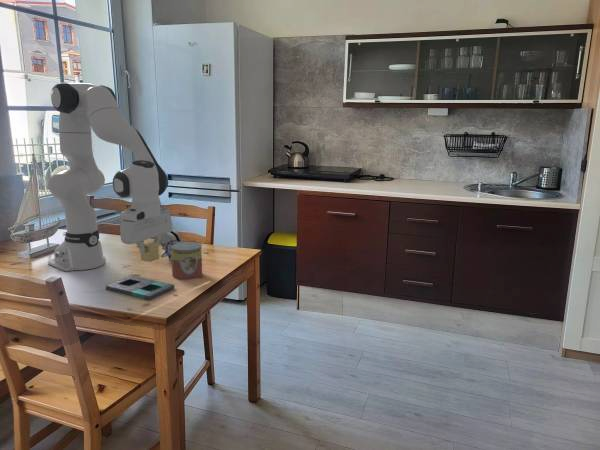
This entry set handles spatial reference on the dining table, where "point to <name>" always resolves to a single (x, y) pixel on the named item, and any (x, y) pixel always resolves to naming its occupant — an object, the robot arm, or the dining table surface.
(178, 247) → the canned food
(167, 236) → the grey curved piece
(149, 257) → the brass peg
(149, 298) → the peg hole board
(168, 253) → the passion flower
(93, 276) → the dining table surface
